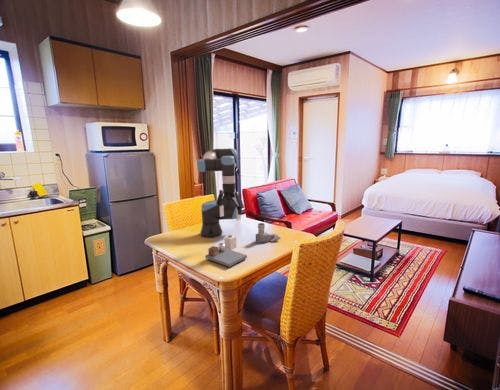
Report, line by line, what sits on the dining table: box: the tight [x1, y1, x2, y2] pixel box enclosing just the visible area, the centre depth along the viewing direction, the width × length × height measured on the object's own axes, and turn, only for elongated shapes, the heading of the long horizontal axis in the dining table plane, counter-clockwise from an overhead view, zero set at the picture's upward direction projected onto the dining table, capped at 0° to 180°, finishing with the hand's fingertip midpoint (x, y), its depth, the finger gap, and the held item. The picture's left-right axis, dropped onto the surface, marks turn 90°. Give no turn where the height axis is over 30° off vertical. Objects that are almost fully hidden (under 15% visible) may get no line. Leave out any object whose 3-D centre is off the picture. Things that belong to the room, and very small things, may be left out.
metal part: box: [218, 242, 225, 252], centre depth 156 cm, size 4×4×4 cm
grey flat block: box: [204, 248, 248, 269], centre depth 151 cm, size 18×14×2 cm
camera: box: [255, 222, 281, 244], centre depth 177 cm, size 9×12×15 cm
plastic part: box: [223, 234, 237, 251], centre depth 167 cm, size 5×5×8 cm
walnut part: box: [207, 245, 219, 257], centre depth 151 cm, size 4×4×4 cm
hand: (230, 218), depth 164 cm, fingers open, 13 cm apart
